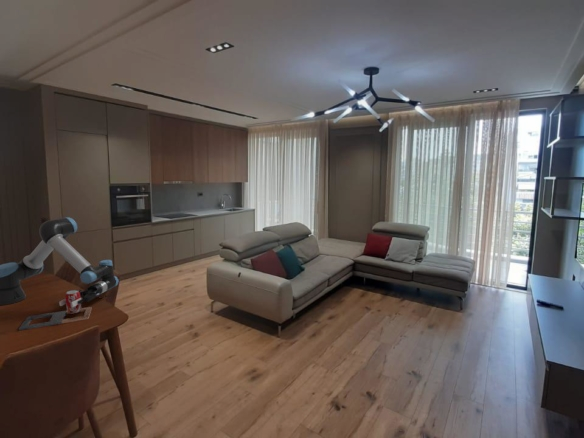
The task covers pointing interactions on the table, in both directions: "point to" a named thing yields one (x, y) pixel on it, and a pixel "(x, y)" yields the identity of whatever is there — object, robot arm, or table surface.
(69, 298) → the soda can
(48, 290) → the table surface
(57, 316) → the rail frame
